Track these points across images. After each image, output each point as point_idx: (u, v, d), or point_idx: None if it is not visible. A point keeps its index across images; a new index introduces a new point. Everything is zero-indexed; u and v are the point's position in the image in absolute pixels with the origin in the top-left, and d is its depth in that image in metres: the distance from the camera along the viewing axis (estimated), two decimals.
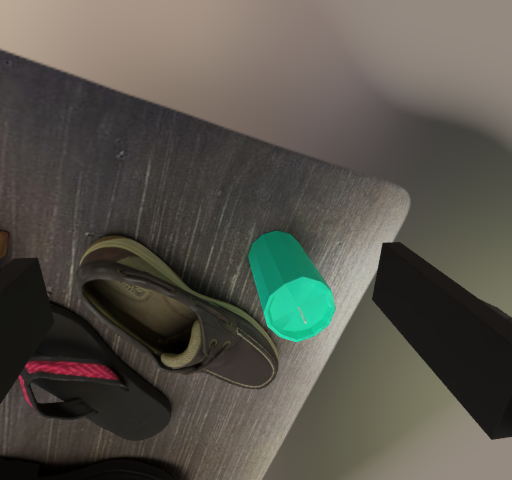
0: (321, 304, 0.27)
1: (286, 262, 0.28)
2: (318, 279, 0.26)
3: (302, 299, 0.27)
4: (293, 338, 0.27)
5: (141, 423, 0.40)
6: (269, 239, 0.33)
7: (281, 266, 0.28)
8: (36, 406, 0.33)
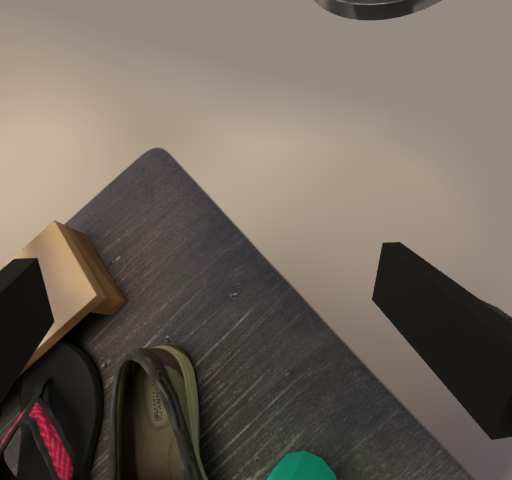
0: None
1: None
2: None
3: None
4: None
5: None
6: (306, 458, 0.27)
7: None
8: None
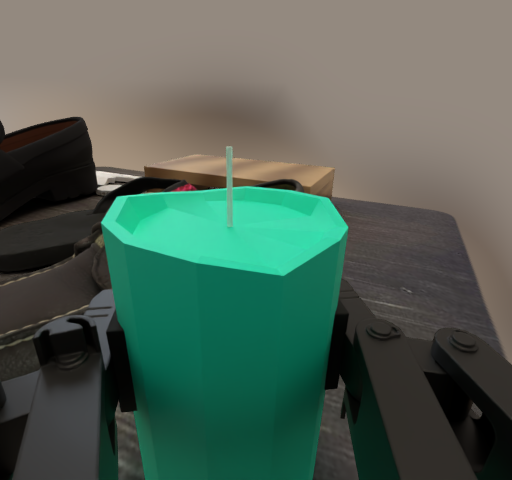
0: (221, 258, 0.07)
1: None
2: (339, 251, 0.07)
3: (259, 230, 0.08)
4: (135, 196, 0.09)
5: (23, 235, 0.28)
6: None
7: None
8: (151, 177, 0.34)
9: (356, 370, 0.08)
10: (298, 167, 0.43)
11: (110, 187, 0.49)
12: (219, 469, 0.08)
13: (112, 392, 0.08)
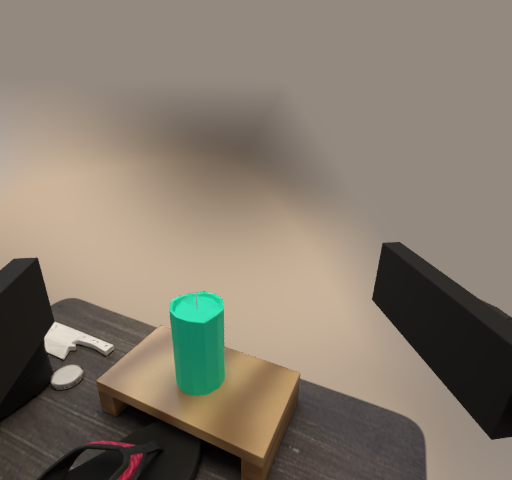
0: (194, 318, 0.35)
1: None
2: (217, 317, 0.35)
3: (203, 309, 0.36)
4: (174, 300, 0.37)
5: None
6: None
7: None
8: (91, 447, 0.32)
9: None
10: (261, 374, 0.41)
11: (67, 372, 0.46)
12: (194, 362, 0.36)
13: None
